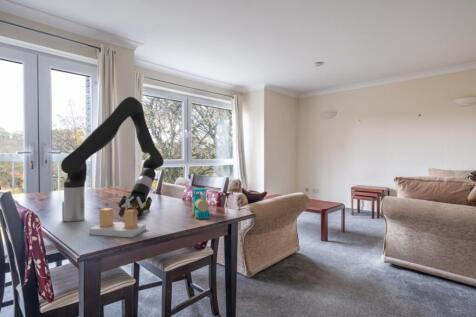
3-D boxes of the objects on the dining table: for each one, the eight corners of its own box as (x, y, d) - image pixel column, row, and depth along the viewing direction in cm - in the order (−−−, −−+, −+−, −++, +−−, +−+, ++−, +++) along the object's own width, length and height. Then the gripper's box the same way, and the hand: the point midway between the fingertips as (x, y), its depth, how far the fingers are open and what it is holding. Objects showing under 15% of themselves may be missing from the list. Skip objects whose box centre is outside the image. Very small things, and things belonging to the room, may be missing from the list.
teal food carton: (196, 220, 146) (197, 192, 145) (191, 213, 161) (191, 188, 161) (211, 219, 148) (211, 192, 148) (204, 212, 164) (204, 187, 163)
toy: (118, 210, 171) (118, 220, 143) (118, 195, 171) (118, 202, 144) (146, 208, 177) (150, 217, 150) (146, 194, 177) (150, 200, 150)
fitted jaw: (99, 231, 122) (99, 209, 122) (105, 229, 126) (105, 207, 126) (107, 232, 122) (107, 210, 121) (113, 229, 126) (113, 208, 125)
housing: (89, 234, 119) (89, 228, 119) (106, 226, 131) (106, 221, 131) (131, 237, 116) (132, 231, 116) (145, 229, 128) (145, 224, 127)
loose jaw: (124, 233, 120) (124, 211, 120) (129, 231, 124) (129, 209, 124) (132, 234, 120) (132, 211, 120) (137, 231, 124) (137, 209, 124)
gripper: (125, 182, 130) (110, 211, 119) (153, 183, 128) (141, 213, 117) (131, 191, 135) (118, 220, 124) (158, 192, 133) (147, 222, 122)
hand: (129, 216), depth 121 cm, fingers open, 8 cm apart
